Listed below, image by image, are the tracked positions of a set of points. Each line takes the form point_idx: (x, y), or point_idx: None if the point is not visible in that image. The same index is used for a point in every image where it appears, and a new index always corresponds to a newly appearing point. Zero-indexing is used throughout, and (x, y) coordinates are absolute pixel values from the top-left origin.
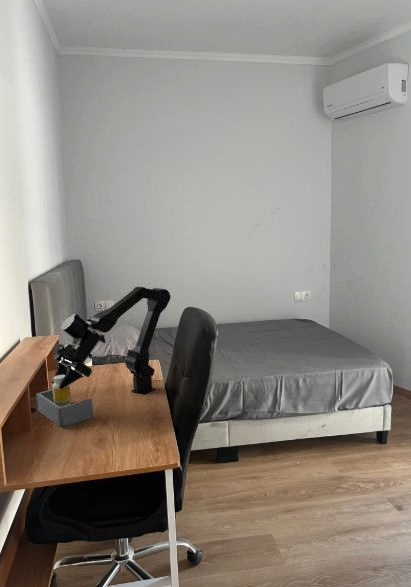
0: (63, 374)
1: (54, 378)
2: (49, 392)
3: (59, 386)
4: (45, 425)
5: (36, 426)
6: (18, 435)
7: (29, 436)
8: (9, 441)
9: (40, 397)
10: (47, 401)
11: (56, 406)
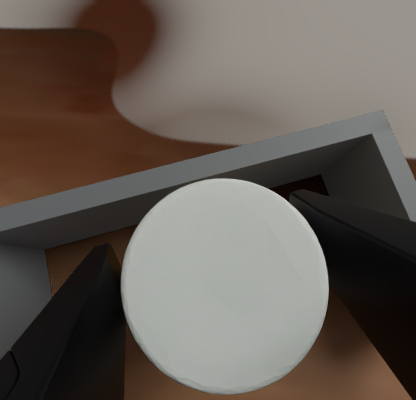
0: (411, 356)
1: (186, 185)
2: (394, 203)
3: (99, 248)
4: (101, 173)
5: (114, 135)
6: (55, 63)
7: (13, 100)
8: (14, 31)
9: (296, 134)
10: (166, 165)
11: (8, 211)
